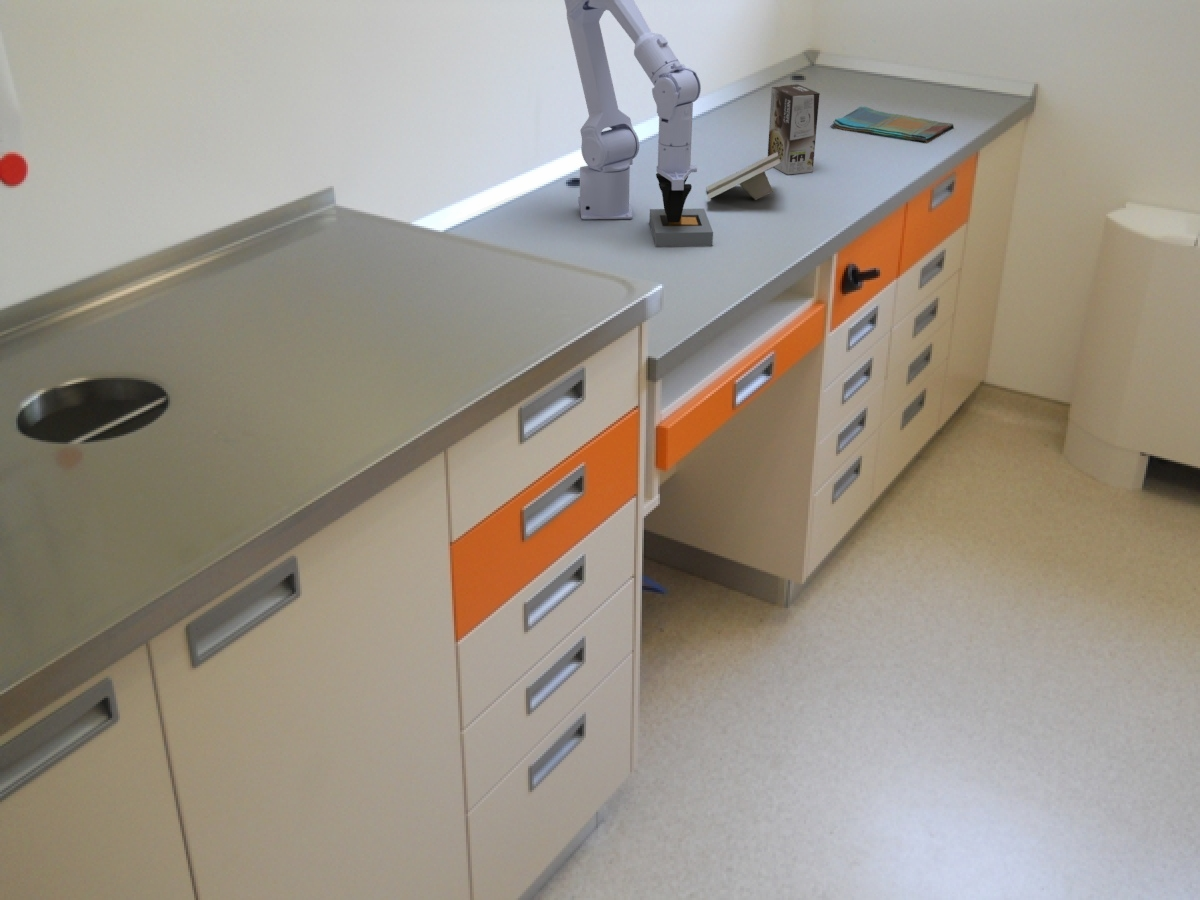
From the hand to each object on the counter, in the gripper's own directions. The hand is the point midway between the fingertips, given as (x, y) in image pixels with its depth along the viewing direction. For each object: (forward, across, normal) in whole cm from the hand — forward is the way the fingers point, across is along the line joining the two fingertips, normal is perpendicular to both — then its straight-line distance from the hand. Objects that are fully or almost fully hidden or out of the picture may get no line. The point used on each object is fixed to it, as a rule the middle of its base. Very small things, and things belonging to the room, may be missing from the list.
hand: (672, 217), depth 227 cm
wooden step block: (+2, 0, -2) cm, 3 cm away
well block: (+3, 0, -2) cm, 3 cm away
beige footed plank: (+3, +20, -15) cm, 25 cm away
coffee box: (+3, +40, -28) cm, 49 cm away
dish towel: (+4, +71, -58) cm, 92 cm away
